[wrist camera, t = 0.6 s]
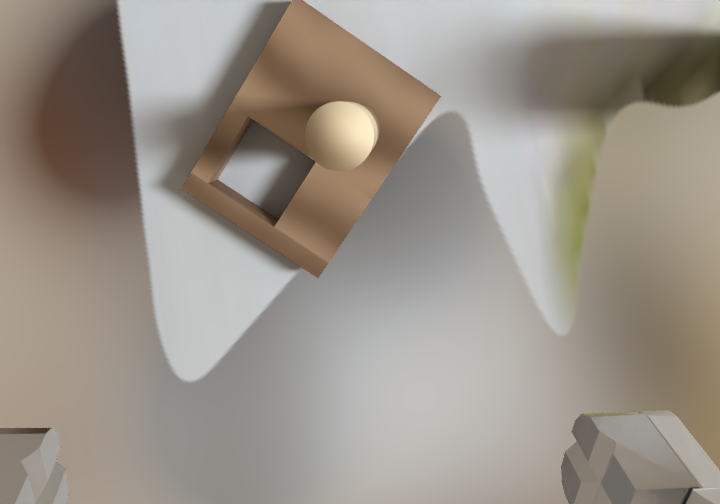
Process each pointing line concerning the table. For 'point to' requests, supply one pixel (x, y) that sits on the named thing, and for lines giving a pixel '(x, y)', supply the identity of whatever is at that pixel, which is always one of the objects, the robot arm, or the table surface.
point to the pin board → (288, 121)
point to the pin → (341, 134)
